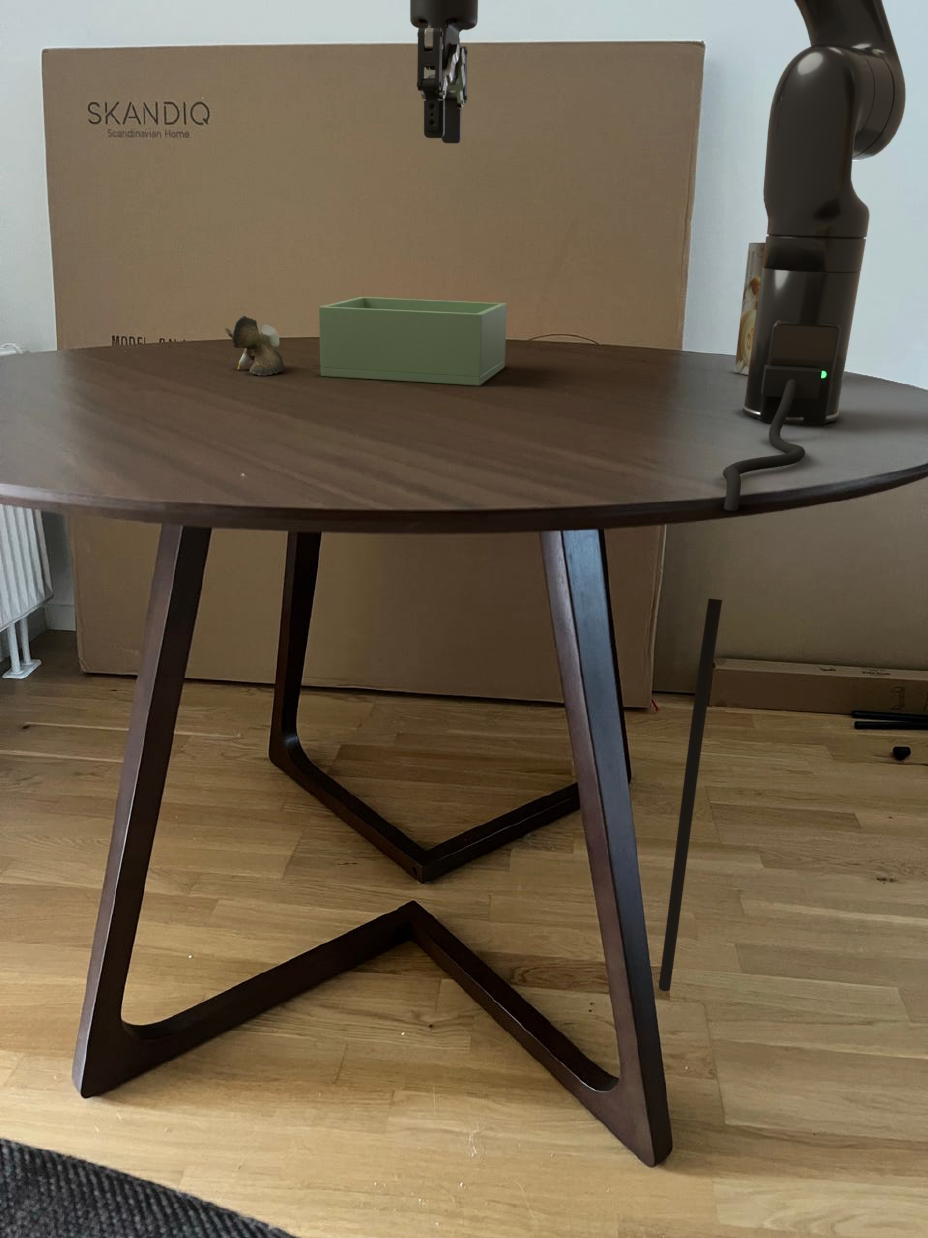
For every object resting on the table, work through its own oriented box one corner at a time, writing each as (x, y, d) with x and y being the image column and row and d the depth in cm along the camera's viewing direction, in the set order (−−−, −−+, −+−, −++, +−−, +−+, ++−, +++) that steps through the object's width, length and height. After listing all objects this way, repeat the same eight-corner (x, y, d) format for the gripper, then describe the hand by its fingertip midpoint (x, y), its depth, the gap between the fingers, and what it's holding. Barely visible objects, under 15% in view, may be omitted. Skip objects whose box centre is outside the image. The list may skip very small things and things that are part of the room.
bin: (479, 385, 116) (481, 314, 113) (320, 376, 119) (318, 306, 116) (504, 367, 130) (507, 303, 127) (361, 359, 134) (360, 296, 130)
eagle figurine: (209, 356, 124) (218, 352, 116) (236, 306, 125) (247, 298, 116) (263, 388, 128) (275, 386, 119) (289, 339, 128) (304, 334, 119)
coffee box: (818, 380, 125) (839, 244, 119) (778, 383, 122) (798, 243, 116) (769, 370, 133) (786, 241, 126) (730, 372, 130) (746, 241, 124)
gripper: (427, -9, 116) (426, 144, 122) (393, -38, 103) (394, 135, 109) (490, -11, 115) (486, 145, 121) (463, -40, 102) (461, 135, 108)
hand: (443, 140), depth 115 cm, fingers open, 8 cm apart
